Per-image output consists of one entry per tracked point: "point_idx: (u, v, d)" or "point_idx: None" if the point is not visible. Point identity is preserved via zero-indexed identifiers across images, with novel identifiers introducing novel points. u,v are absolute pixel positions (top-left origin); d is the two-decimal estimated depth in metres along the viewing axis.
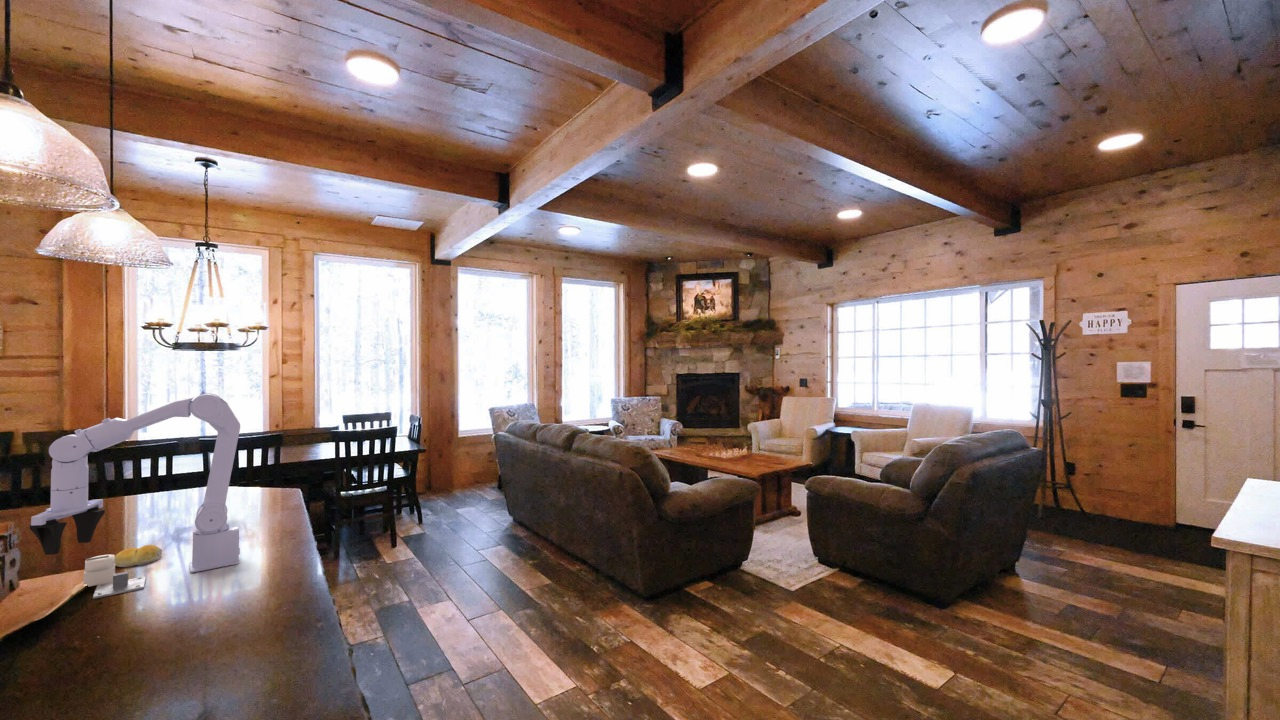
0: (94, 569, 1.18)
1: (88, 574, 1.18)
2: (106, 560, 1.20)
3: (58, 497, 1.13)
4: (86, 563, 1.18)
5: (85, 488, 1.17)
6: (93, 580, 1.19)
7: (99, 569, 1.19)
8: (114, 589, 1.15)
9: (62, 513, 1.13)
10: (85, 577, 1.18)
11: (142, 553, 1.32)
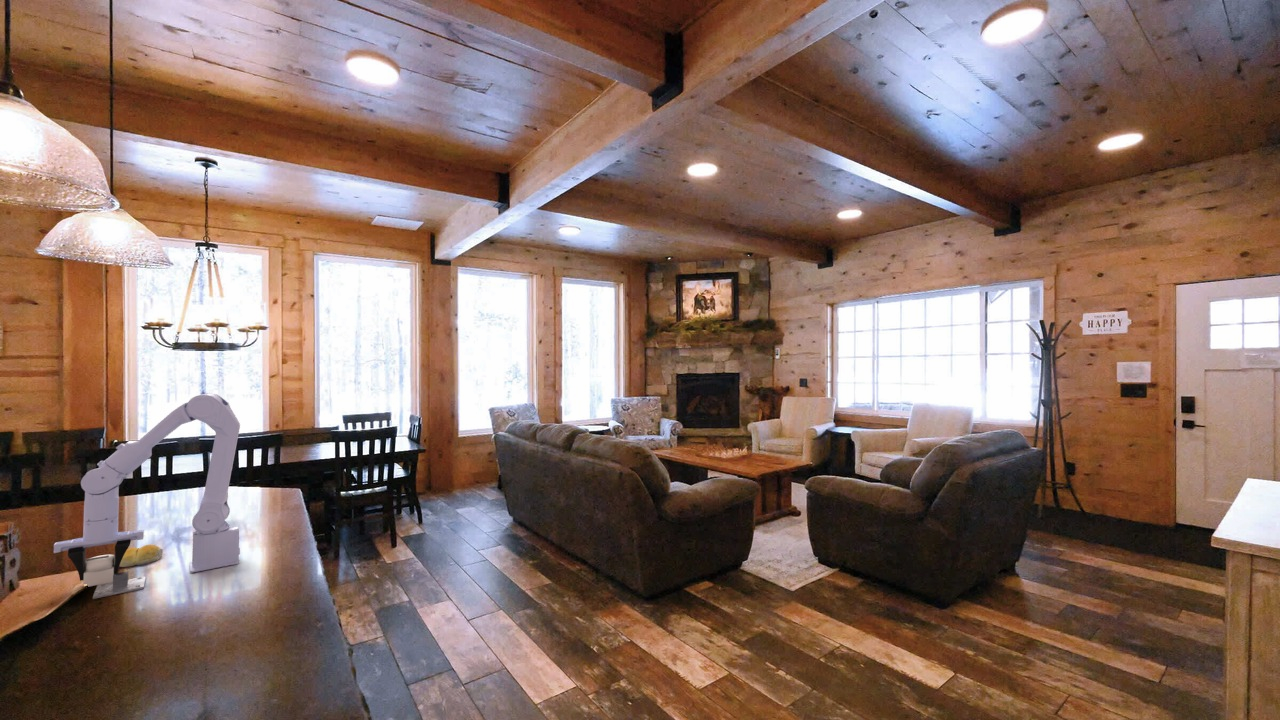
0: (94, 569, 1.18)
1: (88, 574, 1.18)
2: (106, 560, 1.20)
3: (83, 526, 1.19)
4: (86, 563, 1.18)
5: (102, 521, 1.19)
6: (93, 580, 1.19)
7: (99, 569, 1.19)
8: (114, 589, 1.15)
9: (76, 544, 1.17)
10: (85, 577, 1.18)
11: (143, 553, 1.32)
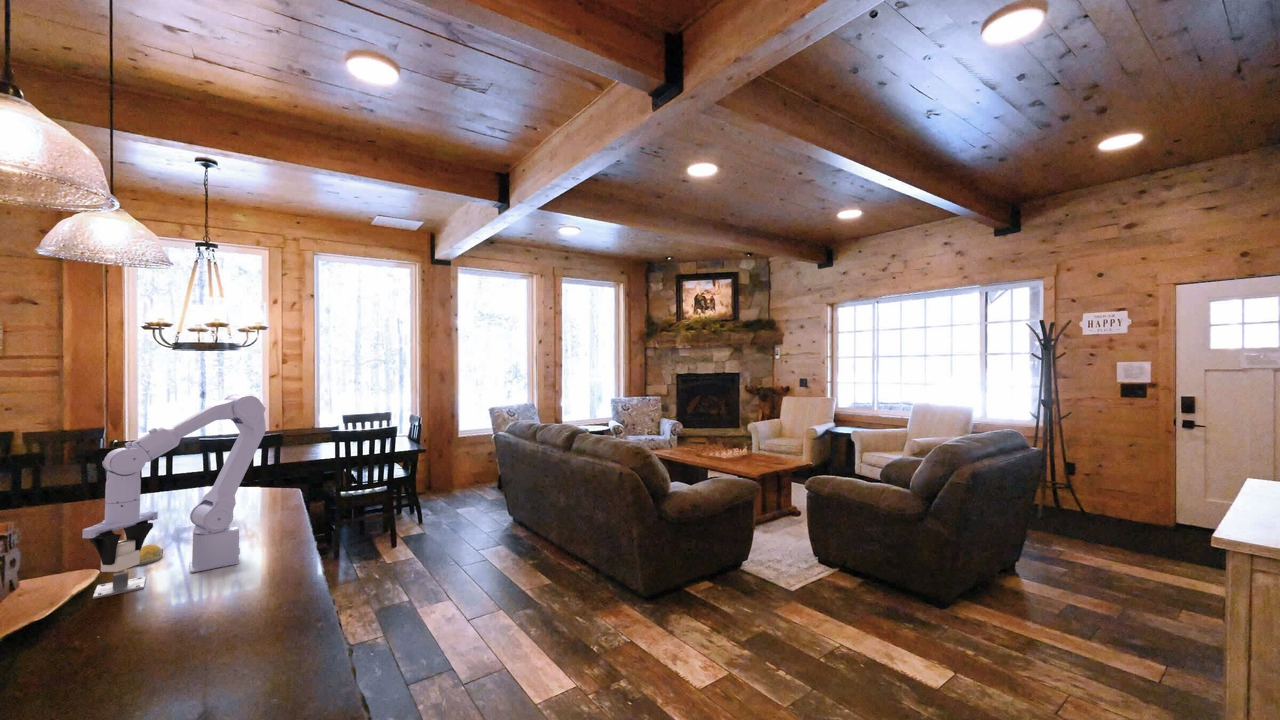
0: (126, 552, 1.17)
1: (120, 558, 1.16)
2: (134, 542, 1.19)
3: (110, 509, 1.15)
4: None
5: (136, 501, 1.18)
6: (125, 564, 1.16)
7: (130, 551, 1.17)
8: (114, 589, 1.15)
9: (112, 526, 1.14)
10: (119, 561, 1.15)
11: (144, 553, 1.32)
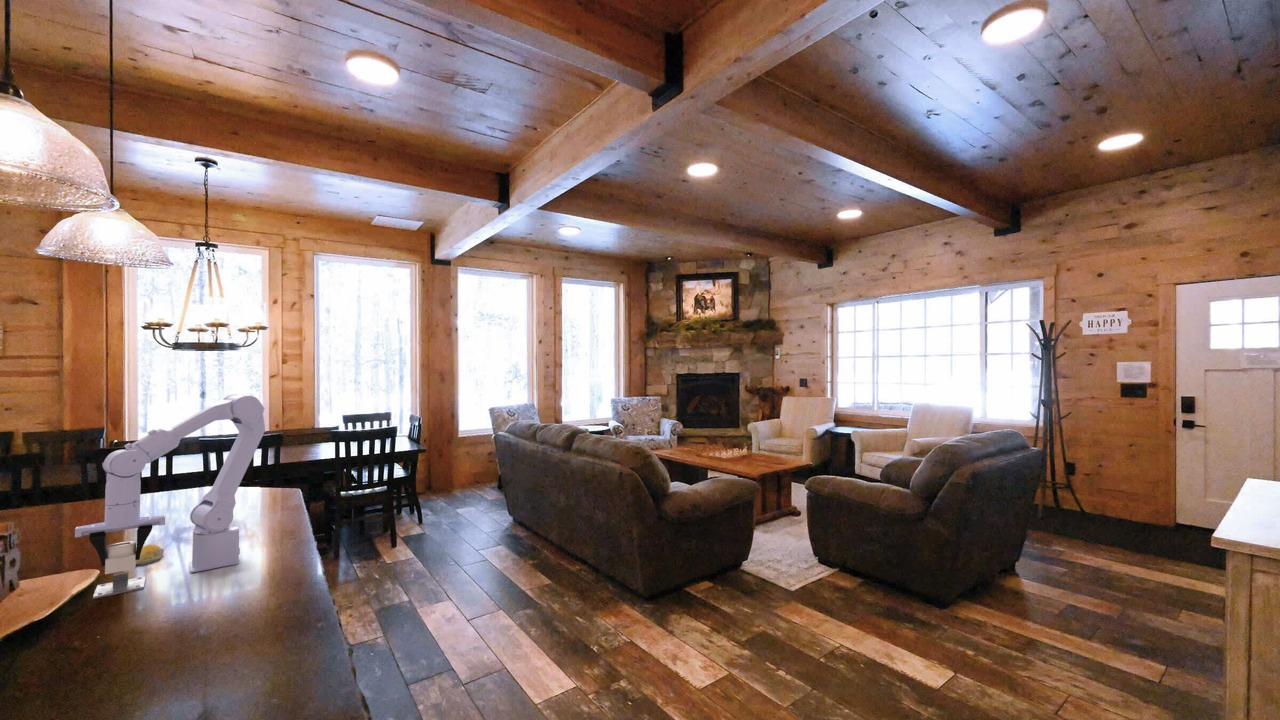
0: (116, 555, 1.15)
1: (110, 560, 1.15)
2: (128, 546, 1.17)
3: None
4: (108, 549, 1.15)
5: (124, 505, 1.16)
6: (115, 567, 1.15)
7: (121, 555, 1.16)
8: (114, 589, 1.15)
9: (97, 528, 1.14)
10: (107, 563, 1.15)
11: (144, 553, 1.32)
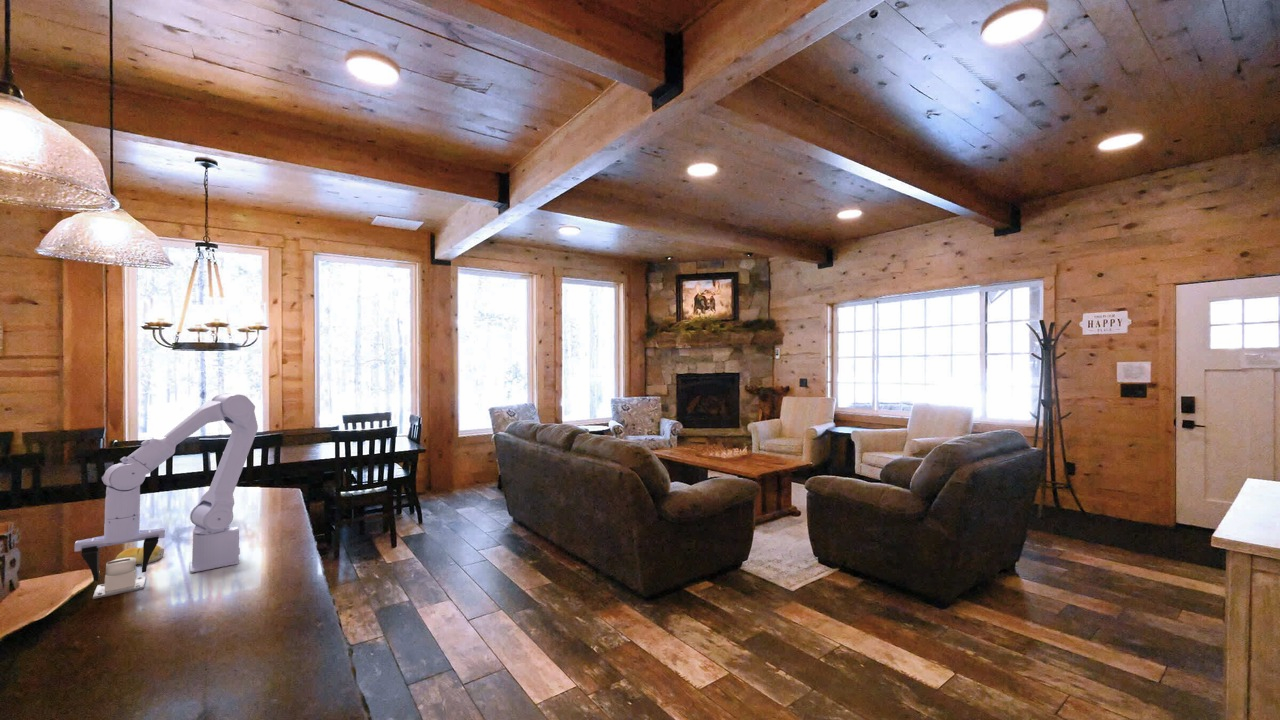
0: (115, 572, 1.15)
1: (109, 578, 1.15)
2: (128, 563, 1.17)
3: (104, 524, 1.16)
4: (107, 566, 1.15)
5: (123, 519, 1.16)
6: (115, 584, 1.15)
7: (120, 572, 1.16)
8: None
9: (97, 542, 1.14)
10: (106, 581, 1.14)
11: None
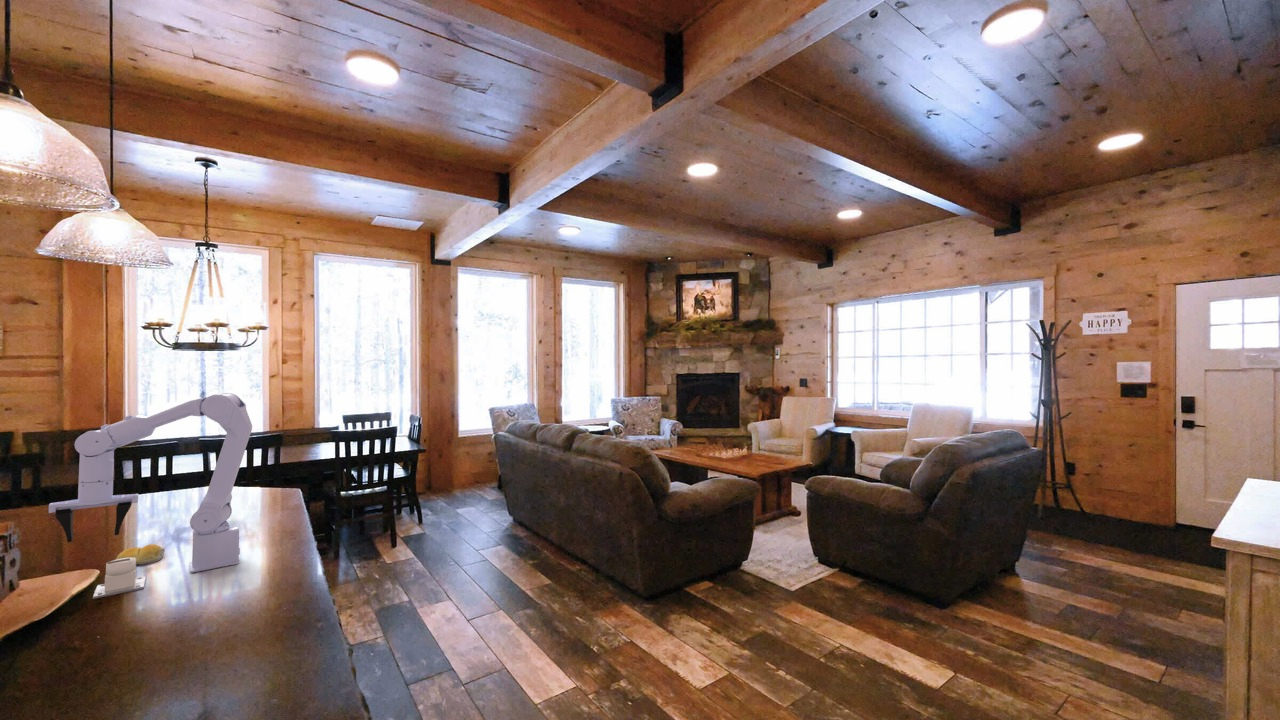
0: (115, 572, 1.15)
1: (109, 578, 1.15)
2: (128, 563, 1.17)
3: (78, 488, 1.20)
4: (107, 566, 1.15)
5: (97, 483, 1.20)
6: (115, 584, 1.15)
7: (120, 572, 1.16)
8: None
9: (71, 504, 1.18)
10: (106, 581, 1.14)
11: (145, 553, 1.32)
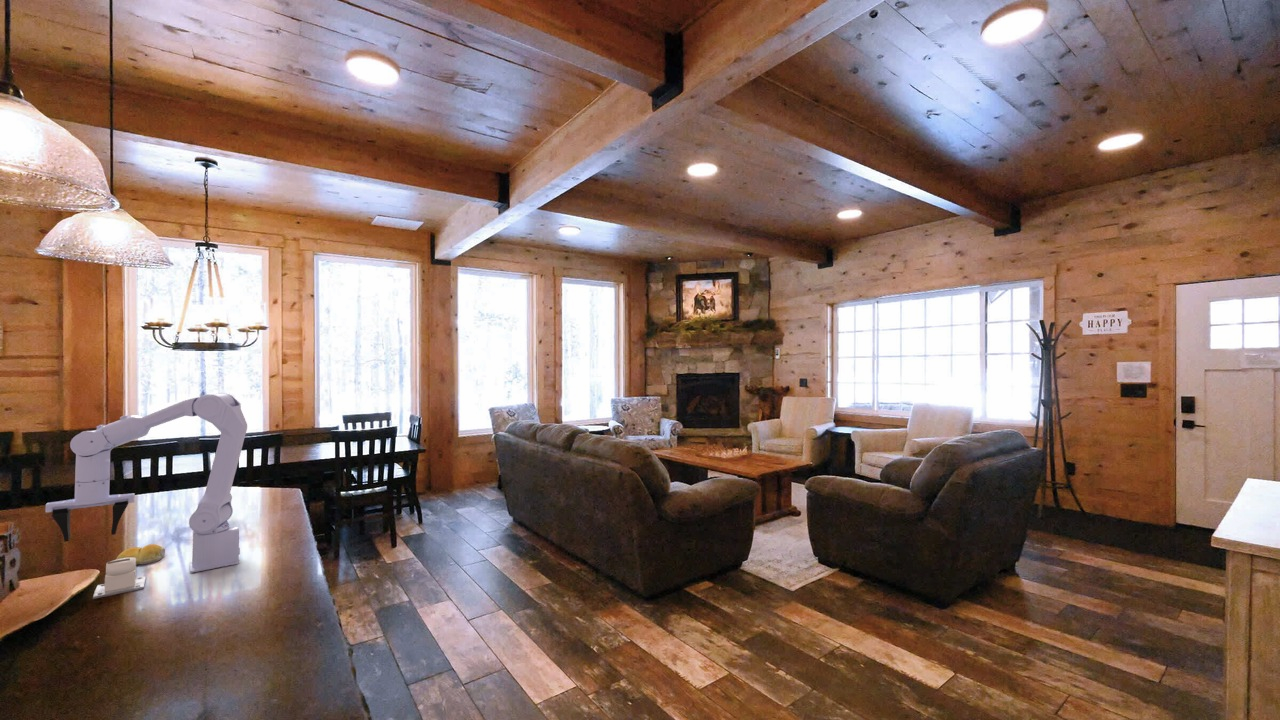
0: (115, 572, 1.15)
1: (109, 578, 1.15)
2: (128, 563, 1.17)
3: None
4: (107, 566, 1.15)
5: (93, 483, 1.21)
6: (115, 584, 1.15)
7: (120, 572, 1.16)
8: None
9: (67, 504, 1.19)
10: (106, 581, 1.14)
11: (146, 553, 1.32)
